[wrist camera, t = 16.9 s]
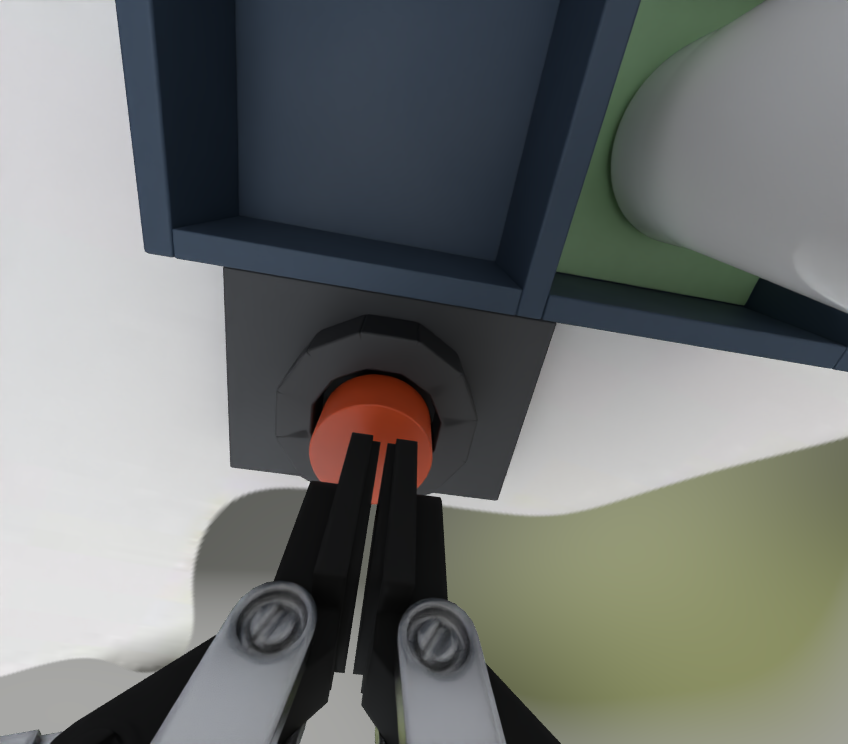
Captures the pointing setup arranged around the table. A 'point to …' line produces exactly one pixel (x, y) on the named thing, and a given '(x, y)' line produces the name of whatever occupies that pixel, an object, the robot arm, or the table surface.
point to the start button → (370, 425)
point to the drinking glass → (748, 148)
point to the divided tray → (435, 159)
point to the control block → (376, 354)
